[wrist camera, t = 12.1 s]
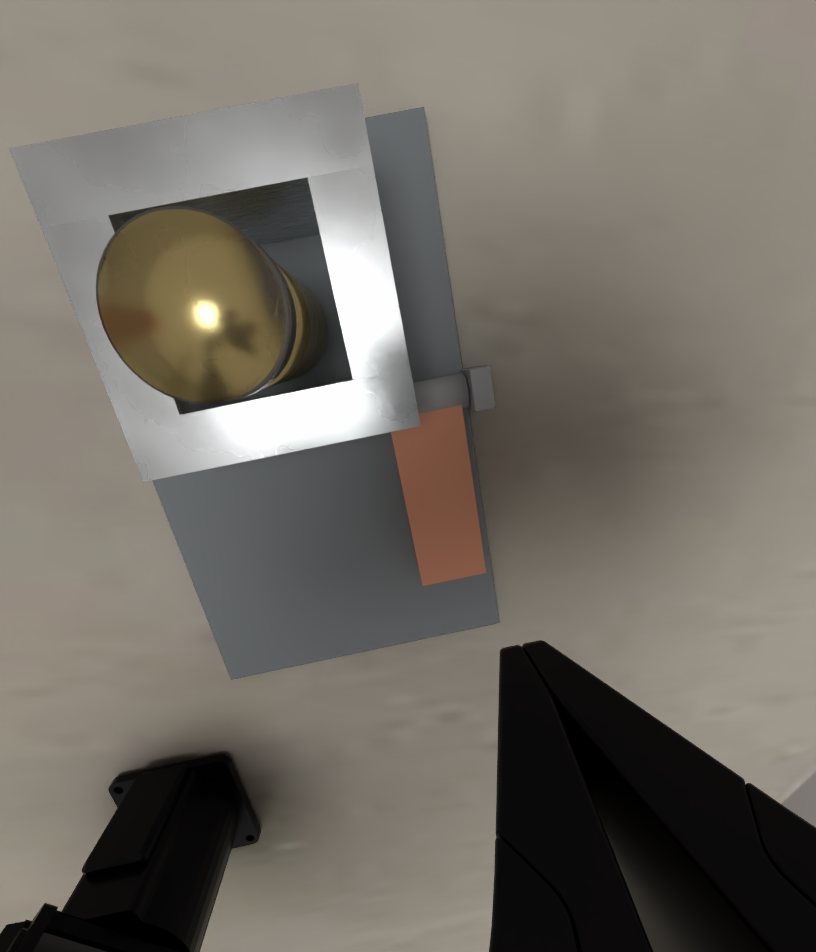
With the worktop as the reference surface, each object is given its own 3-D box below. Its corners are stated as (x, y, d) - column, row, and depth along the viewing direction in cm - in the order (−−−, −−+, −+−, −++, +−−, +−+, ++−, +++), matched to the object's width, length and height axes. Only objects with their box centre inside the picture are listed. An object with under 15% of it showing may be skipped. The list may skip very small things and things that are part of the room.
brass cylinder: (348, 347, 16) (323, 345, 9) (266, 400, 16) (185, 436, 9) (286, 248, 14) (205, 162, 8) (200, 309, 15) (53, 276, 8)
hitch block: (410, 411, 17) (420, 425, 12) (204, 453, 16) (143, 482, 12) (364, 168, 14) (358, 82, 10) (121, 215, 14) (8, 148, 10)
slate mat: (510, 615, 20) (525, 643, 18) (234, 673, 20) (216, 709, 18) (441, 110, 14) (452, 64, 12) (43, 185, 14) (-17, 152, 12)
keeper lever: (374, 389, 16) (374, 391, 15) (458, 372, 16) (466, 373, 15) (413, 573, 19) (416, 589, 18) (485, 558, 19) (493, 573, 18)
